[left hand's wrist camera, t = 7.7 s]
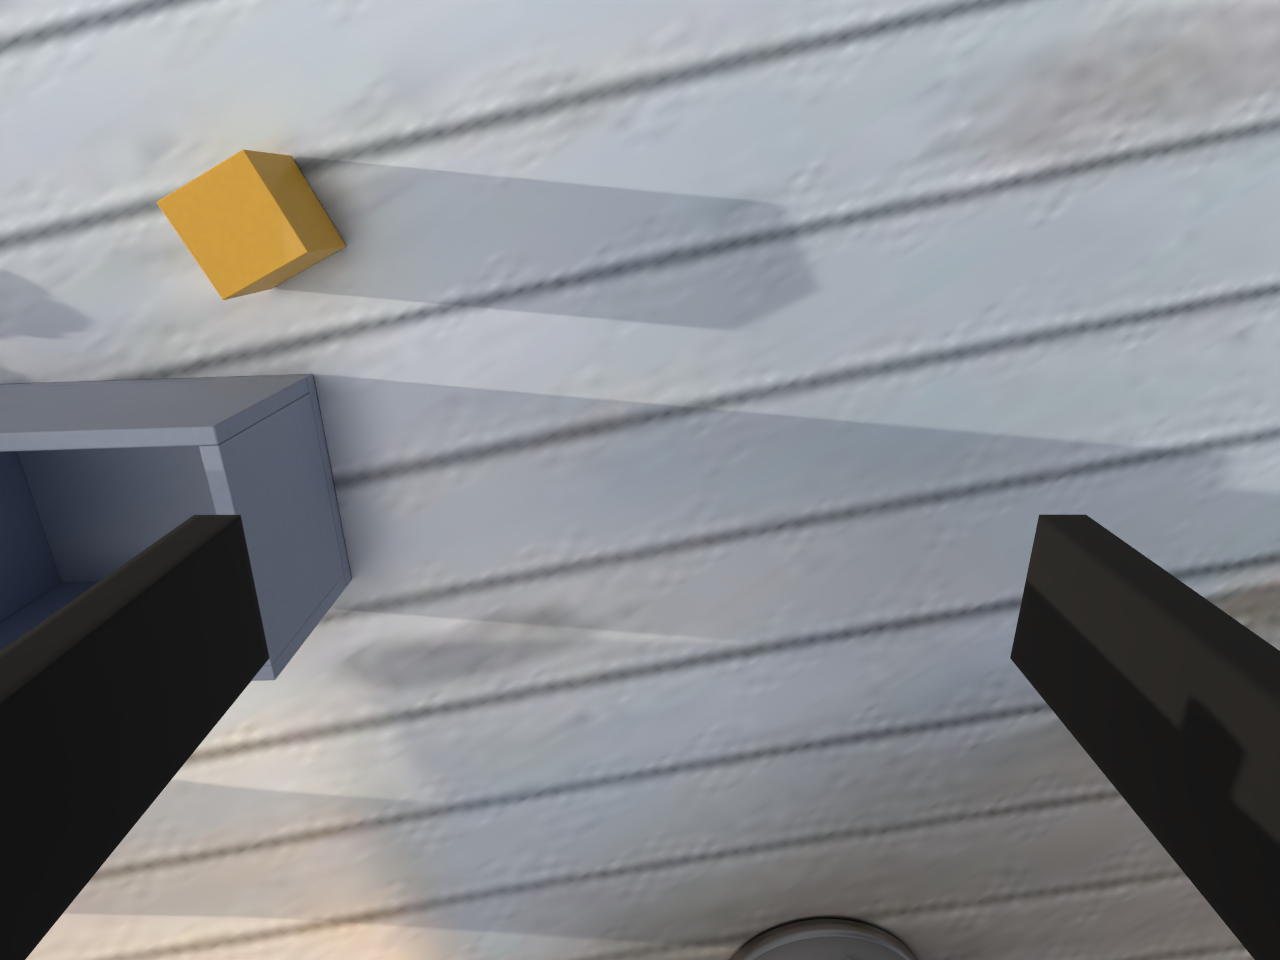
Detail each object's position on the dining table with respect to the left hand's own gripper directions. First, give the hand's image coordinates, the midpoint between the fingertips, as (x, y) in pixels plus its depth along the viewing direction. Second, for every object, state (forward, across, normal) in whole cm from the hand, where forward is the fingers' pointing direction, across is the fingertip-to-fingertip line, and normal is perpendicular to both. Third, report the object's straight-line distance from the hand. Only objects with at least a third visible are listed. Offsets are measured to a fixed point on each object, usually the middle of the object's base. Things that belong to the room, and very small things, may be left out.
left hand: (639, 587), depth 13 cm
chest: (+28, +26, +9) cm, 39 cm away
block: (+28, +18, -5) cm, 34 cm away
